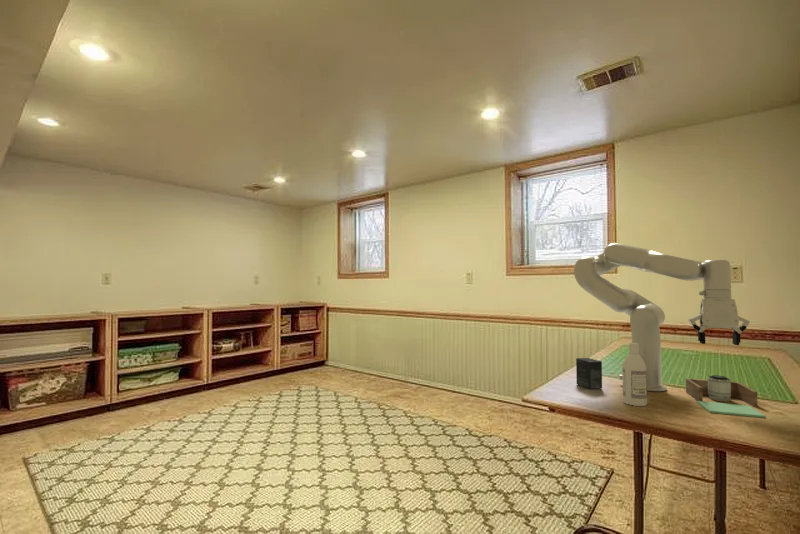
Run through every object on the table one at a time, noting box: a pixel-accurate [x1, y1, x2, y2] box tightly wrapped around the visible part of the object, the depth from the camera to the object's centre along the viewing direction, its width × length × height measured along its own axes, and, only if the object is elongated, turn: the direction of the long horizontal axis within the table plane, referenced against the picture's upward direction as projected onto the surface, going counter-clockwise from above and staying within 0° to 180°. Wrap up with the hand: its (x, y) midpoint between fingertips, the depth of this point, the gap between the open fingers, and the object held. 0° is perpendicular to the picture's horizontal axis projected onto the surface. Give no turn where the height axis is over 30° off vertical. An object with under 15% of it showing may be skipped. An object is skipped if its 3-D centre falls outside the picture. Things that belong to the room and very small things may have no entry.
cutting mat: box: [696, 400, 767, 419], centre depth 128 cm, size 14×11×1 cm
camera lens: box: [707, 374, 732, 403], centre depth 139 cm, size 6×6×8 cm
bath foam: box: [621, 342, 648, 407], centre depth 134 cm, size 7×7×20 cm
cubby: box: [685, 378, 758, 408], centre depth 139 cm, size 16×13×5 cm
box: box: [575, 357, 603, 390], centre depth 155 cm, size 8×6×11 cm
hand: (719, 344), depth 140 cm, fingers open, 9 cm apart
